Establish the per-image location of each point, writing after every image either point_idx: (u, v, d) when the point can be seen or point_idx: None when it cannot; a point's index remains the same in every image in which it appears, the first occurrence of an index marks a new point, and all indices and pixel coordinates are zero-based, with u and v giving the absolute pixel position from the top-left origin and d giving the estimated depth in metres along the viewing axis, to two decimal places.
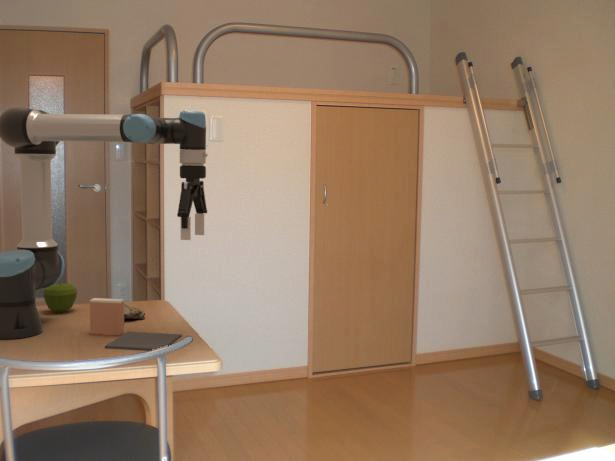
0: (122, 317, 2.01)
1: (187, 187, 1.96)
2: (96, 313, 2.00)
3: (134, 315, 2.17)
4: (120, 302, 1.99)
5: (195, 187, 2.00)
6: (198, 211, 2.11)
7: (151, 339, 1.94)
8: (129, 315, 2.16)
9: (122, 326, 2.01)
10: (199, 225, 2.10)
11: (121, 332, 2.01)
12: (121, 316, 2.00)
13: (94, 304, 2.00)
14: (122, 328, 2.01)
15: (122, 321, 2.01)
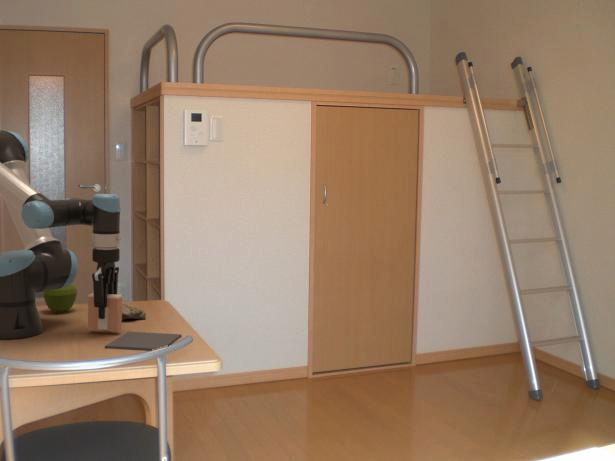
0: (120, 313, 2.01)
1: (98, 279, 1.94)
2: (94, 308, 2.00)
3: (135, 315, 2.17)
4: (118, 298, 2.00)
5: (107, 272, 1.98)
6: None
7: (151, 339, 1.94)
8: (130, 315, 2.16)
9: (120, 322, 2.02)
10: None
11: (118, 327, 2.01)
12: (118, 312, 2.00)
13: (92, 299, 2.00)
14: (119, 324, 2.02)
15: (120, 317, 2.01)
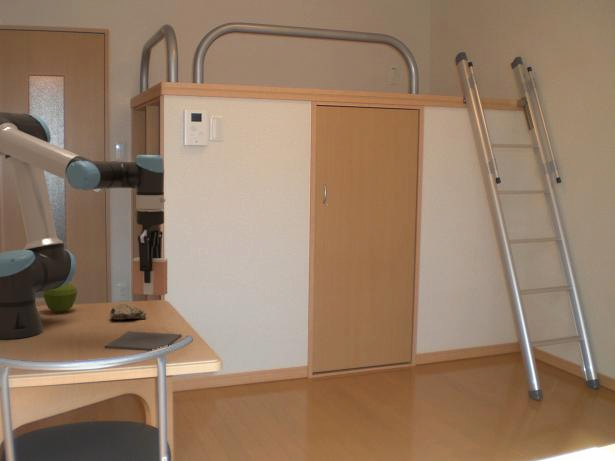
0: (165, 277, 1.96)
1: (144, 241, 1.89)
2: (139, 272, 1.95)
3: (135, 315, 2.18)
4: (164, 261, 1.94)
5: (152, 234, 1.93)
6: None
7: (151, 339, 1.94)
8: (130, 315, 2.16)
9: (165, 286, 1.96)
10: None
11: (164, 292, 1.96)
12: (164, 275, 1.95)
13: (137, 263, 1.95)
14: (165, 288, 1.96)
15: (165, 281, 1.96)
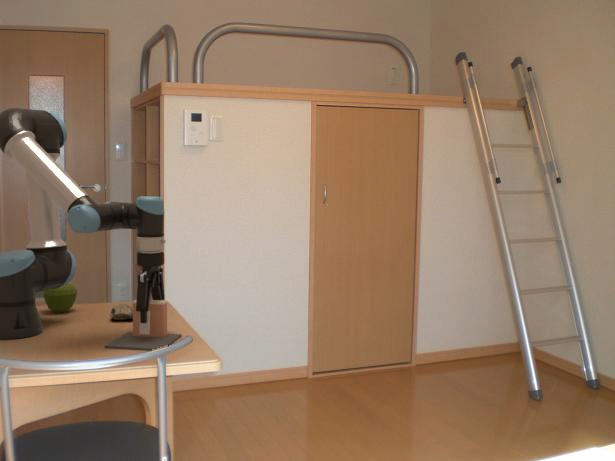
0: (165, 319, 1.97)
1: (143, 280, 1.90)
2: (139, 314, 1.96)
3: None
4: (164, 303, 1.96)
5: (152, 275, 1.94)
6: None
7: (151, 339, 1.94)
8: (131, 315, 2.16)
9: (165, 328, 1.97)
10: None
11: (164, 334, 1.97)
12: (164, 318, 1.96)
13: None
14: (165, 330, 1.97)
15: (165, 323, 1.97)
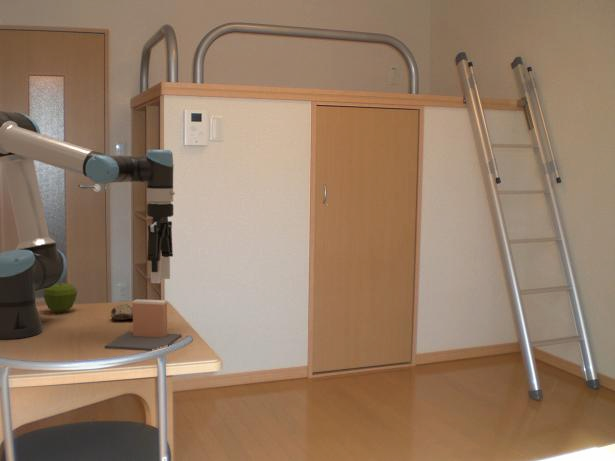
0: (165, 319, 1.97)
1: (153, 230, 1.96)
2: (139, 314, 1.96)
3: None
4: (164, 303, 1.96)
5: (162, 226, 2.01)
6: (164, 254, 2.08)
7: (151, 339, 1.94)
8: (131, 315, 2.16)
9: (165, 328, 1.97)
10: (164, 269, 2.08)
11: (164, 334, 1.97)
12: (164, 318, 1.96)
13: (137, 305, 1.96)
14: (165, 330, 1.97)
15: (165, 323, 1.97)
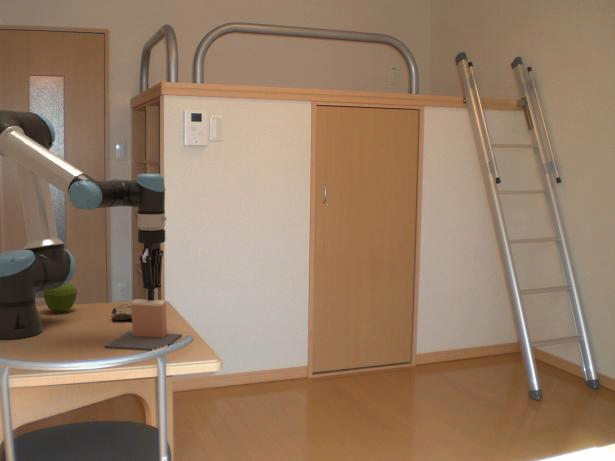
0: (164, 318, 1.97)
1: (146, 261, 1.91)
2: (138, 315, 1.95)
3: None
4: (162, 304, 1.94)
5: (153, 253, 1.95)
6: None
7: (151, 339, 1.94)
8: None
9: (165, 327, 1.97)
10: None
11: (164, 334, 1.97)
12: (163, 318, 1.95)
13: (135, 306, 1.95)
14: (165, 329, 1.97)
15: (165, 322, 1.97)
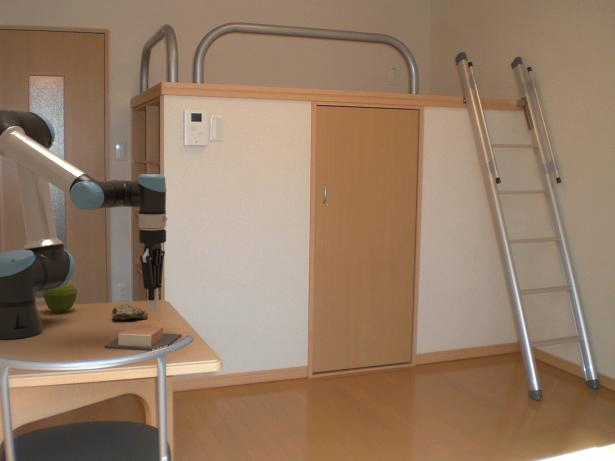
0: (157, 335, 1.91)
1: (146, 261, 1.92)
2: None
3: (137, 315, 2.18)
4: (151, 344, 1.86)
5: (154, 253, 1.95)
6: None
7: None
8: (132, 315, 2.16)
9: (160, 333, 1.93)
10: None
11: (162, 334, 1.95)
12: (156, 339, 1.90)
13: None
14: (161, 333, 1.94)
15: (158, 334, 1.92)
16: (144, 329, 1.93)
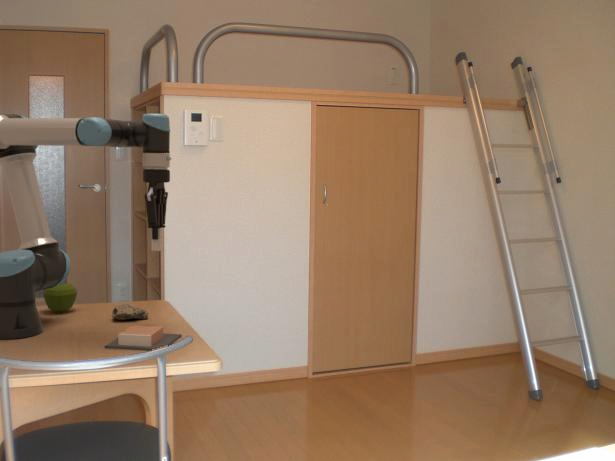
0: (157, 335, 1.91)
1: (151, 199, 1.93)
2: None
3: (138, 315, 2.18)
4: (151, 344, 1.86)
5: (158, 192, 1.97)
6: None
7: None
8: (133, 315, 2.16)
9: (160, 333, 1.93)
10: None
11: (162, 334, 1.95)
12: (156, 339, 1.90)
13: None
14: (161, 333, 1.94)
15: (158, 334, 1.92)
16: (144, 329, 1.93)
